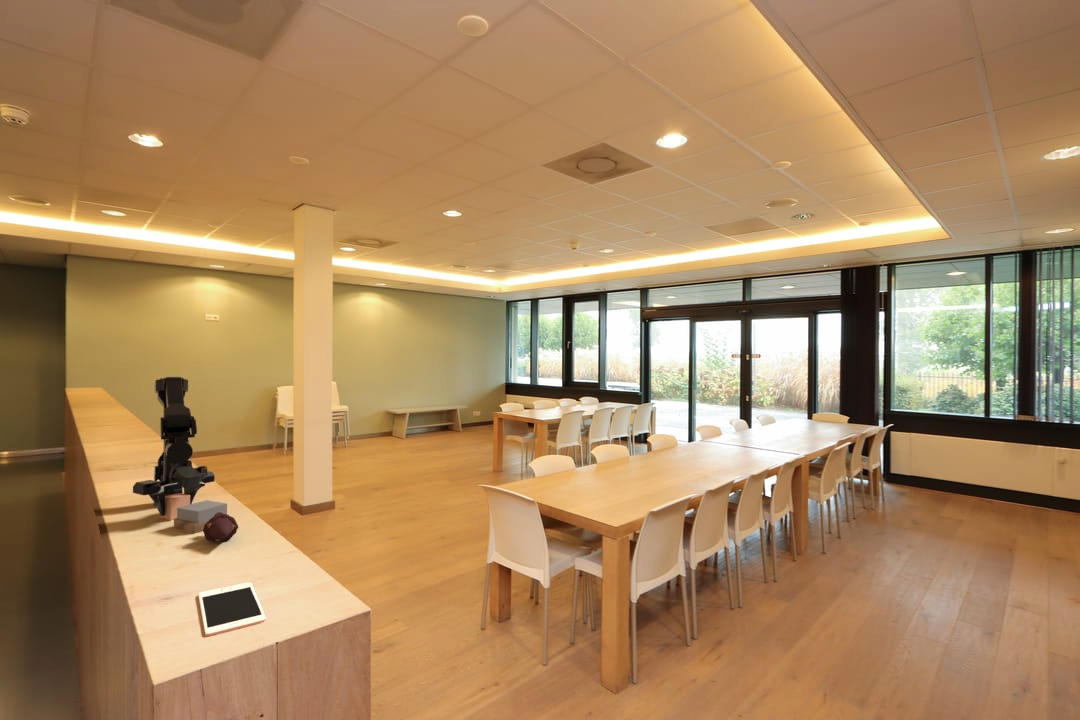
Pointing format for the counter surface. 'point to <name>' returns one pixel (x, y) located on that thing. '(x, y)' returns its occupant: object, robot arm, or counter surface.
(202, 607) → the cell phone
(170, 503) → the block
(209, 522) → the maroon plush toy
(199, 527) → the tower bottom
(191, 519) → the tower top
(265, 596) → the counter surface
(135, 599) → the counter surface
